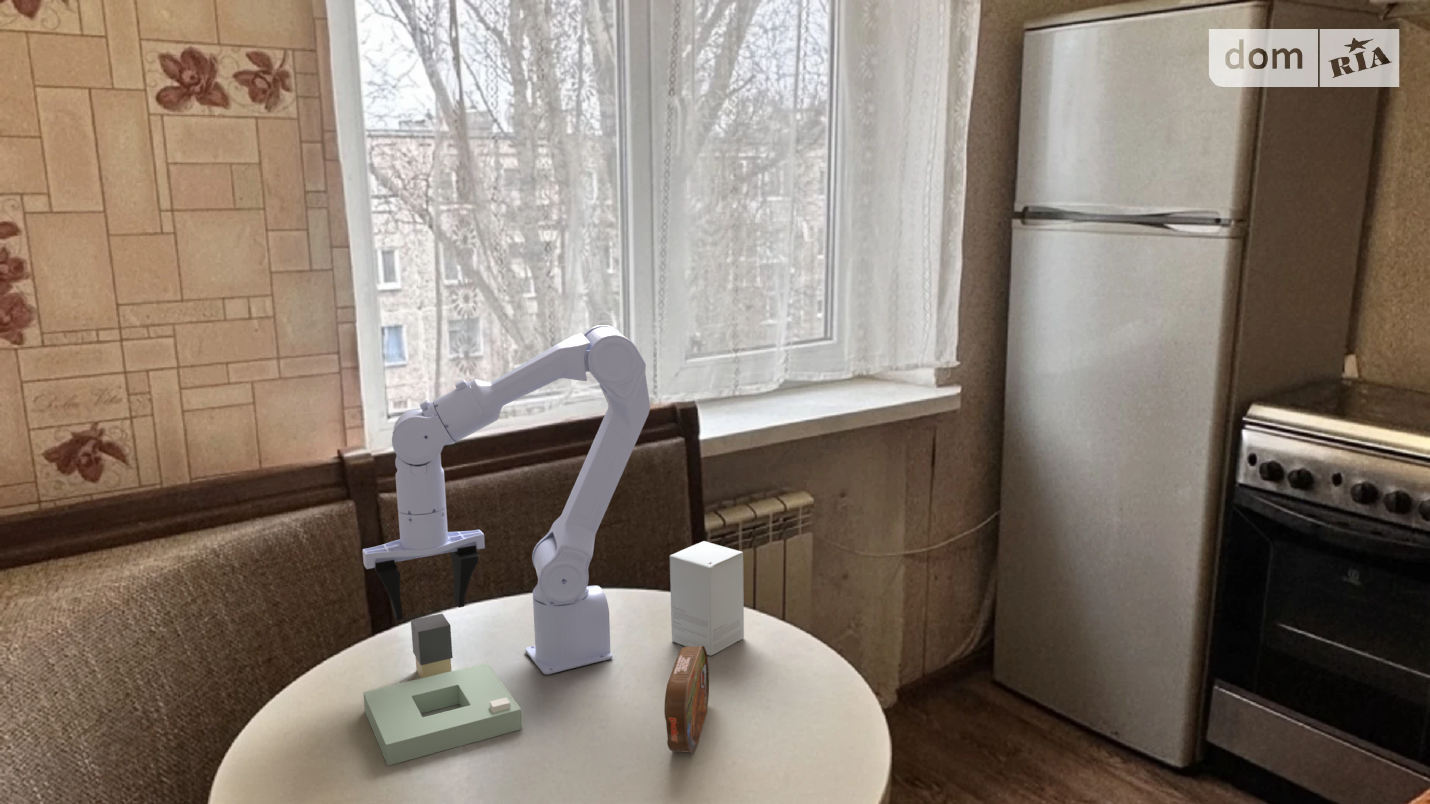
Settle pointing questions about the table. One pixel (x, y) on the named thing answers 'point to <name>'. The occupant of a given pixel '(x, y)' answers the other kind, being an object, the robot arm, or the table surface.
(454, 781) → the table surface
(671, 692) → the tin
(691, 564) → the supplement box
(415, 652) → the plug
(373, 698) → the socket panel
